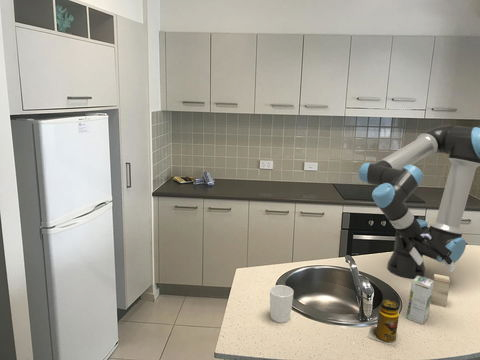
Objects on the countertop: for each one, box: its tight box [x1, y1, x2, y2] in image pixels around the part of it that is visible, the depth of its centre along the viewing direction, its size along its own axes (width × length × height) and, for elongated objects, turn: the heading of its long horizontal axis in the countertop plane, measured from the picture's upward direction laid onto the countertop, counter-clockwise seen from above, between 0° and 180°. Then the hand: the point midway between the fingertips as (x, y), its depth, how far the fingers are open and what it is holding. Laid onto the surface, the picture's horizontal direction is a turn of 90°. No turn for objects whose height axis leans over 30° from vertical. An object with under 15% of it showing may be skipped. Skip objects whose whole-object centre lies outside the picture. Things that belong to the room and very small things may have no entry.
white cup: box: [269, 284, 294, 324], centre depth 133 cm, size 8×8×10 cm
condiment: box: [367, 299, 400, 347], centre depth 125 cm, size 7×8×12 cm
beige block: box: [430, 273, 451, 308], centre depth 146 cm, size 5×5×10 cm
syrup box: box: [405, 276, 434, 325], centre depth 134 cm, size 6×6×14 cm
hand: (436, 265), depth 139 cm, fingers open, 13 cm apart
